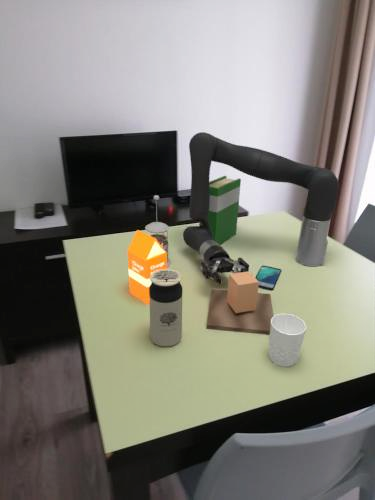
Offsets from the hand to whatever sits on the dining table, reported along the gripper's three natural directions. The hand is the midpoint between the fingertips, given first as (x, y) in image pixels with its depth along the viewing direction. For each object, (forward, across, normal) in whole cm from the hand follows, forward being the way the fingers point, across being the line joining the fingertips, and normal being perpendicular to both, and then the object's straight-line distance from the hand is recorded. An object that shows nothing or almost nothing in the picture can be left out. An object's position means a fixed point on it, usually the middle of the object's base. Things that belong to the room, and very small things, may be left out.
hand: (234, 279), depth 105 cm
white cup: (+25, +2, +8) cm, 26 cm away
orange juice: (-11, -23, +8) cm, 27 cm away
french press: (-30, -15, +8) cm, 35 cm away
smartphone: (-10, +17, +8) cm, 21 cm away
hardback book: (-43, +13, +8) cm, 46 cm away
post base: (+6, 0, +8) cm, 9 cm away
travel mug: (+10, -23, +8) cm, 26 cm away
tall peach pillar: (+6, 0, +5) cm, 8 cm away
